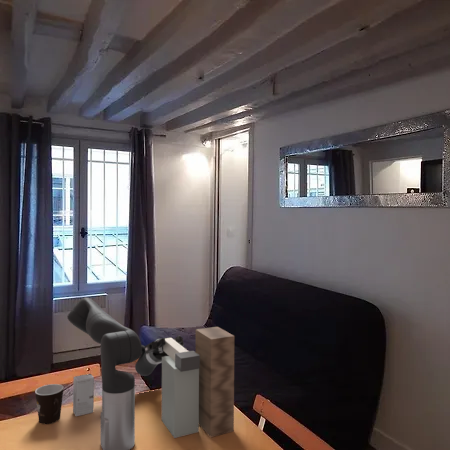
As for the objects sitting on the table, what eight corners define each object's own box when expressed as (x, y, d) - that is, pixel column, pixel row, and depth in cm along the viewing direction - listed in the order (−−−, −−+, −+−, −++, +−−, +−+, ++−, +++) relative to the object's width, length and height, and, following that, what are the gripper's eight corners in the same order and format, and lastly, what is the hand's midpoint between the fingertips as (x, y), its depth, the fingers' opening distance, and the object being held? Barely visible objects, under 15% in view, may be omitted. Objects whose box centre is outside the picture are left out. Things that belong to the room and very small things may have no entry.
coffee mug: (37, 415, 138) (37, 385, 137) (64, 411, 140) (64, 382, 140) (31, 432, 126) (31, 400, 126) (61, 428, 129) (61, 397, 129)
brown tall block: (210, 437, 125) (211, 339, 124) (195, 419, 135) (195, 329, 135) (233, 431, 128) (234, 335, 128) (216, 414, 139) (217, 326, 138)
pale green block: (174, 438, 124) (174, 369, 124) (161, 420, 135) (161, 357, 134) (198, 431, 128) (199, 365, 127) (184, 415, 138) (184, 353, 138)
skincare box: (75, 417, 137) (75, 381, 136) (72, 411, 140) (72, 376, 140) (94, 412, 140) (94, 377, 140) (90, 407, 144) (90, 372, 143)
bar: (181, 371, 122) (181, 358, 122) (158, 350, 140) (158, 339, 140) (199, 368, 124) (199, 355, 124) (175, 348, 143) (175, 337, 143)
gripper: (137, 344, 149) (149, 331, 135) (175, 339, 155) (190, 326, 142) (140, 365, 145) (153, 354, 132) (178, 359, 152) (194, 348, 139)
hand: (172, 339), depth 137 cm, fingers open, 5 cm apart
